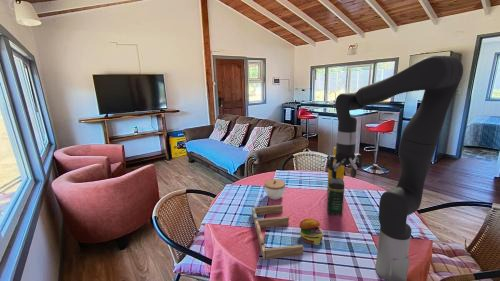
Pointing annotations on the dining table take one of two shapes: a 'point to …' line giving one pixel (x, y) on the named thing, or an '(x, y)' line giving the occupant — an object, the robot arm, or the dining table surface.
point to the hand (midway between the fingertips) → (343, 177)
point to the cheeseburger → (311, 231)
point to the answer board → (272, 222)
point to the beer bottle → (339, 171)
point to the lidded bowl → (275, 188)
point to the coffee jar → (335, 196)
